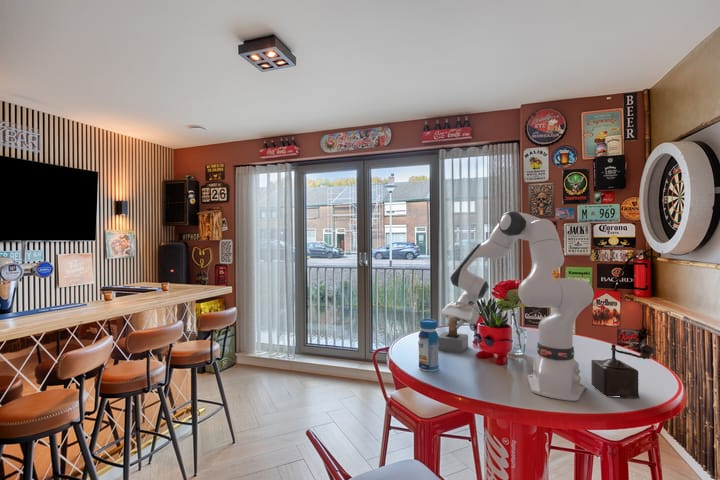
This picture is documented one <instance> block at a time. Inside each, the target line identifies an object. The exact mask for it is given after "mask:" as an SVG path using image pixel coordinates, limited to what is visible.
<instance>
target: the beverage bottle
mask: <svg viewBox="0 0 720 480" xmlns="http://www.w3.org/2000/svg"><path fill="white" fill-rule="evenodd" d="M419 322H420V323H419V325H420V326H419V327H420V329H421V330H420V331H419V333H418V339H419V340H418V341H417V342H418V368H419V369H420V370H421V371H424V372H429V373H430V372H436V371H437V370H439V369H440V368H439V367H440V366H439V350H438V346H439V342H438V338H439V337H438V336H439V333H438V331H437V328H438V327H437V325H438V323H437V320H436V319H433V318H422V319H420V321H419Z"/></svg>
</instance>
